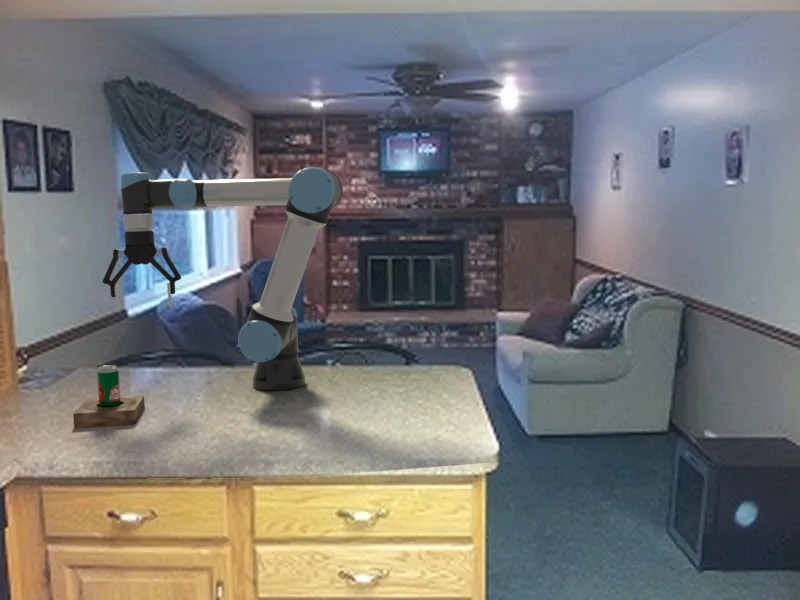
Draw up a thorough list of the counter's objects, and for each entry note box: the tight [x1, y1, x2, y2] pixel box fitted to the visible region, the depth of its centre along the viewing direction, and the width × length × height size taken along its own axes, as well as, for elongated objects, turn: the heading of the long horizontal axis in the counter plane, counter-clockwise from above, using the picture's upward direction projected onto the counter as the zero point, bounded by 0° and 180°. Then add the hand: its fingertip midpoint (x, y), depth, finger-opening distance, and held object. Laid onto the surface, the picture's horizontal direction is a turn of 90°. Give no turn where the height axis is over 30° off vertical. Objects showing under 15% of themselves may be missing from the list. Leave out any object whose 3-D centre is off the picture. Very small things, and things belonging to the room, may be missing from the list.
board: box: [72, 395, 146, 429], centre depth 183 cm, size 14×14×4 cm
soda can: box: [96, 364, 122, 408], centre depth 182 cm, size 5×5×12 cm
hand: (144, 307), depth 202 cm, fingers open, 13 cm apart
